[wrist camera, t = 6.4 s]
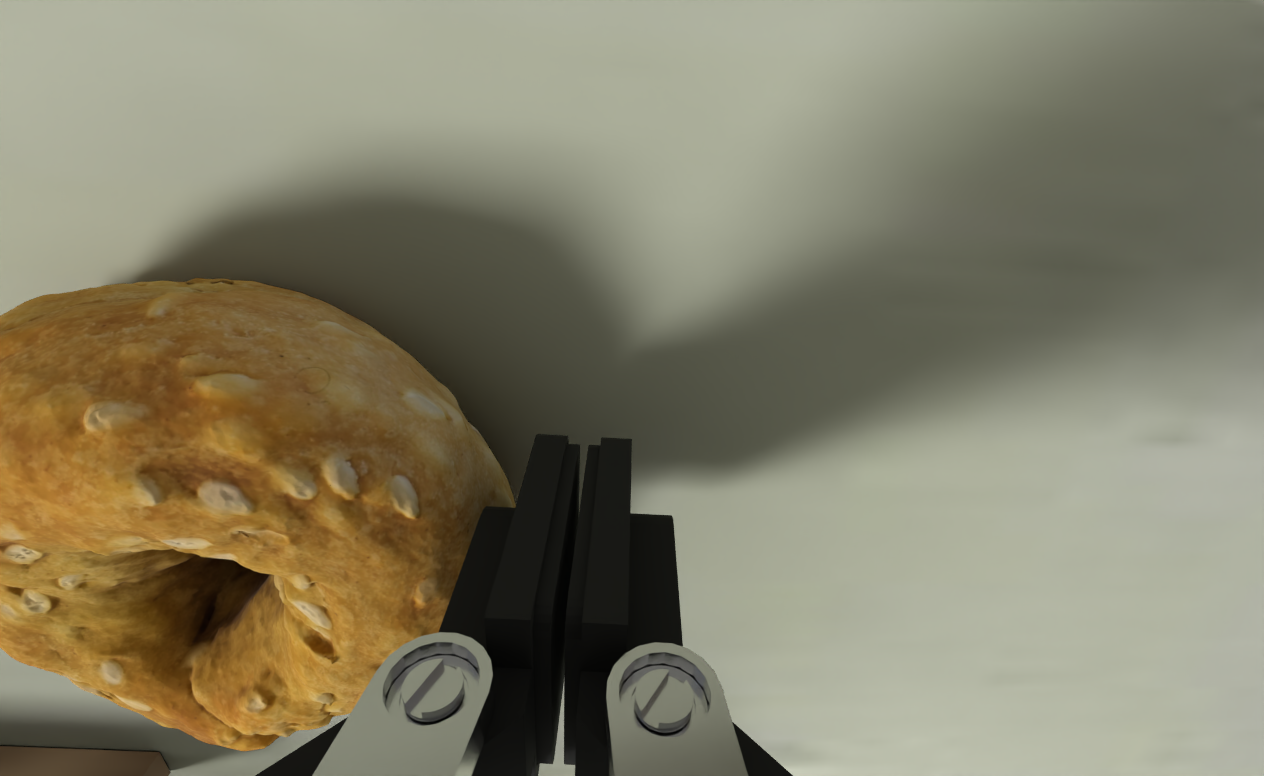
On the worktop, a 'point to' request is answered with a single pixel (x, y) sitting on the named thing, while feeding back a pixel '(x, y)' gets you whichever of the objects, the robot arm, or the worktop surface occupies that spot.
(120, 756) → the box
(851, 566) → the worktop surface
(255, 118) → the worktop surface
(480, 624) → the robot arm
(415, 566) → the bagel
